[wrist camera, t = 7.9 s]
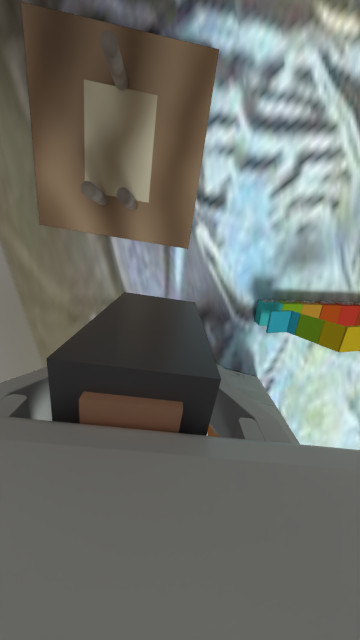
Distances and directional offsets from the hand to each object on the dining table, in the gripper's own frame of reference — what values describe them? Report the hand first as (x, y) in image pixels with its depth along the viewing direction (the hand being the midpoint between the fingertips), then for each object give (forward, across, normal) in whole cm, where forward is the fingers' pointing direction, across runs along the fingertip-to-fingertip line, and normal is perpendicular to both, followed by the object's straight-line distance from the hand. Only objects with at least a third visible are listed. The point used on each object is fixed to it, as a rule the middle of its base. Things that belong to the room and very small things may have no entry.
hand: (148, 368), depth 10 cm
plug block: (+3, 0, 0) cm, 3 cm away
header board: (+17, +6, -14) cm, 22 cm away
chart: (+17, -27, -1) cm, 32 cm away
